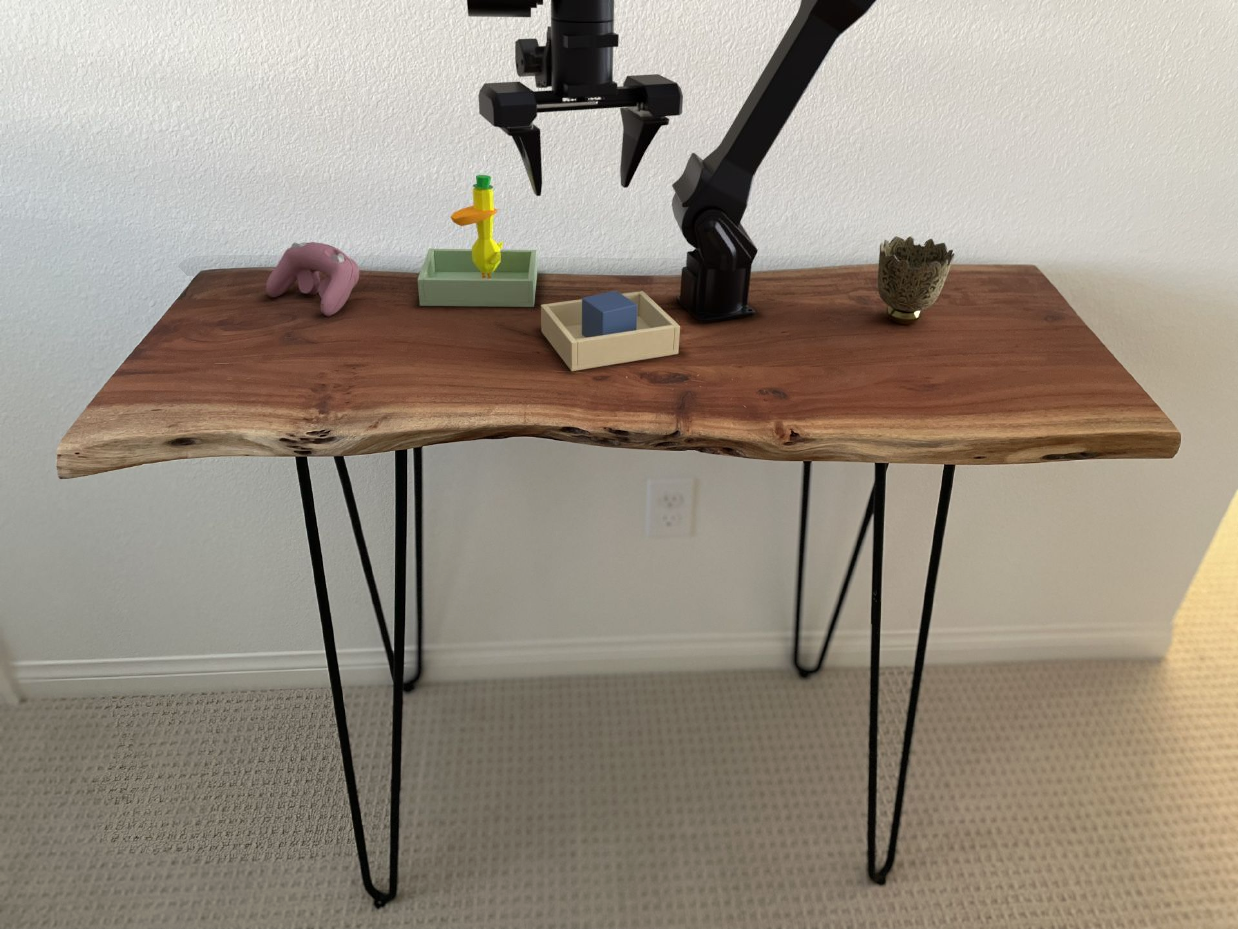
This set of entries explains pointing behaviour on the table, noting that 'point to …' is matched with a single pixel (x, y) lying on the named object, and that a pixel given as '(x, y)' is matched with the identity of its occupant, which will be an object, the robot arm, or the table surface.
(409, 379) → the table surface
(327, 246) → the video game controller
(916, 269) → the cup
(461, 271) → the green tray
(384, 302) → the table surface
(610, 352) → the beige tray
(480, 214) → the toy figure
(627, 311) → the slate block
